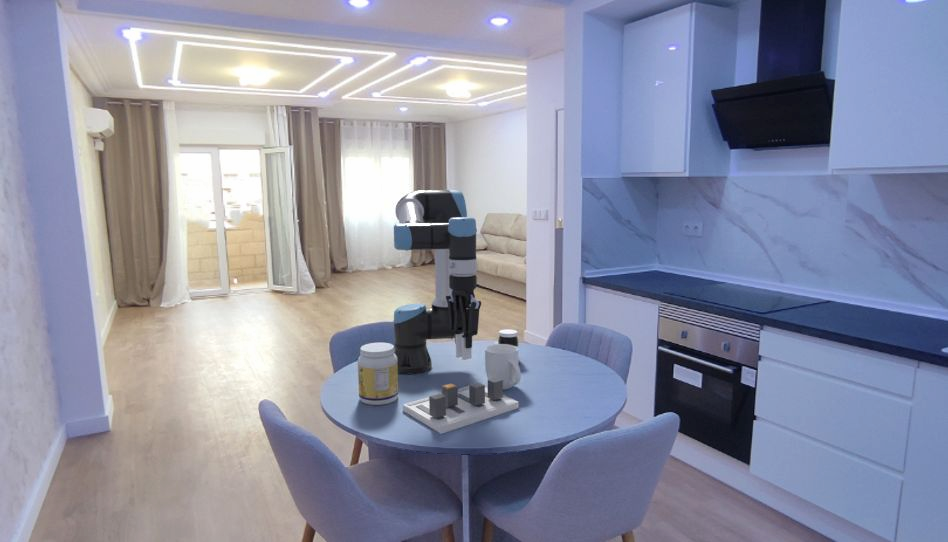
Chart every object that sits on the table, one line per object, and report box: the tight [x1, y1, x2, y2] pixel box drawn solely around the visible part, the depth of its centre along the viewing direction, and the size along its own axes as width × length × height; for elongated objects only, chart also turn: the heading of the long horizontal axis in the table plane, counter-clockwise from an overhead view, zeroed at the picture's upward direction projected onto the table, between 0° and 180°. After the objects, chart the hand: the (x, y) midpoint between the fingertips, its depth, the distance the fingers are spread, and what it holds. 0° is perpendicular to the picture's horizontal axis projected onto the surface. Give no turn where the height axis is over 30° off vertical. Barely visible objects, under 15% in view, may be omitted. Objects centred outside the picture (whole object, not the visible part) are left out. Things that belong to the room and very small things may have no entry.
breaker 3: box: [468, 382, 486, 406], centre depth 162 cm, size 3×4×6 cm
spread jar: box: [492, 329, 519, 349], centre depth 210 cm, size 12×11×12 cm
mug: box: [484, 343, 522, 391], centre depth 180 cm, size 15×11×13 cm
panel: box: [402, 385, 519, 435], centre depth 163 cm, size 20×28×2 cm
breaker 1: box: [429, 392, 446, 418], centre depth 153 cm, size 3×4×6 cm
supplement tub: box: [357, 342, 399, 406], centre depth 171 cm, size 12×12×17 cm
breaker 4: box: [487, 377, 504, 400], centre depth 166 cm, size 3×4×6 cm
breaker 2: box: [441, 383, 459, 408], centre depth 160 cm, size 3×4×6 cm
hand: (463, 357), depth 153 cm, fingers open, 2 cm apart
